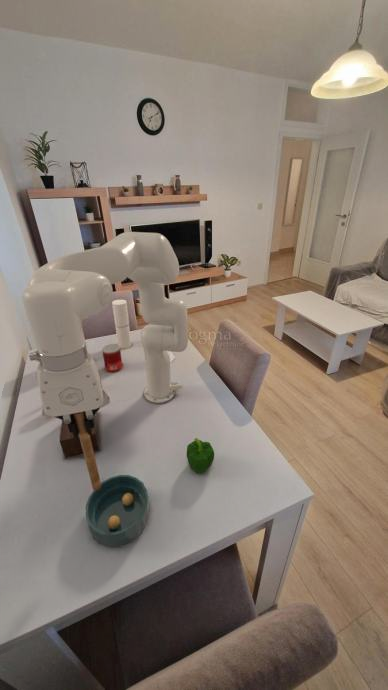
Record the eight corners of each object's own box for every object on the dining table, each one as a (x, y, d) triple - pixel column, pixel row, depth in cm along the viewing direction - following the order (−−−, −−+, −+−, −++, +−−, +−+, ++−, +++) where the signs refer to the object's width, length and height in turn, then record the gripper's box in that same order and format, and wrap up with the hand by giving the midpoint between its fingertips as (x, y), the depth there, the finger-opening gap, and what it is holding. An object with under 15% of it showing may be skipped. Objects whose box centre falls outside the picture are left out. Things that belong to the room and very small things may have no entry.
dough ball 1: (120, 518, 71) (118, 511, 70) (121, 529, 69) (119, 523, 68) (108, 521, 71) (106, 515, 69) (108, 533, 68) (107, 527, 67)
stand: (98, 413, 105) (94, 397, 101) (99, 450, 90) (95, 433, 86) (68, 419, 102) (64, 403, 98) (64, 458, 88) (59, 441, 84)
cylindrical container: (115, 347, 149) (109, 304, 136) (121, 341, 155) (115, 299, 143) (128, 348, 148) (123, 305, 135) (133, 342, 154) (128, 300, 142)
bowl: (144, 482, 81) (142, 468, 78) (154, 536, 68) (152, 522, 65) (89, 497, 77) (86, 483, 74) (89, 557, 64) (84, 544, 61)
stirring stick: (101, 481, 67) (83, 406, 55) (101, 489, 65) (83, 413, 53) (92, 484, 66) (73, 408, 55) (92, 491, 65) (72, 415, 53)
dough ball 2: (133, 495, 77) (132, 489, 75) (134, 506, 74) (133, 499, 73) (122, 498, 76) (121, 492, 74) (123, 509, 73) (122, 502, 72)
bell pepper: (216, 475, 83) (218, 452, 78) (189, 480, 82) (190, 457, 77) (209, 452, 90) (210, 430, 85) (184, 456, 89) (184, 434, 84)
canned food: (125, 366, 133) (123, 346, 128) (113, 374, 127) (110, 354, 122) (114, 361, 137) (111, 342, 131) (102, 369, 131) (98, 349, 125)
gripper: (6, 374, 43) (37, 455, 51) (113, 359, 47) (124, 436, 56) (17, 350, 49) (43, 426, 58) (110, 339, 53) (121, 411, 62)
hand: (83, 430), depth 57 cm, fingers closed on stirring stick, 2 cm apart
